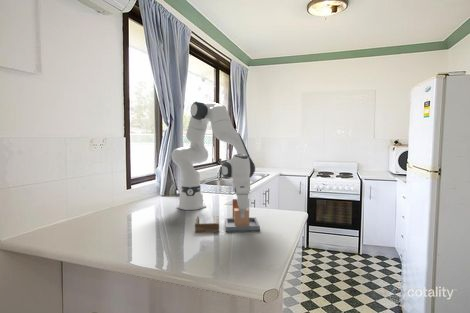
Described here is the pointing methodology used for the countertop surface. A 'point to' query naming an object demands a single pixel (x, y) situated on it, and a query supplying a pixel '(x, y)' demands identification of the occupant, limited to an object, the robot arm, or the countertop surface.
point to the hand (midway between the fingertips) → (241, 214)
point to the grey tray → (252, 226)
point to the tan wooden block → (241, 221)
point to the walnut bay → (206, 226)
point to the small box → (235, 204)
